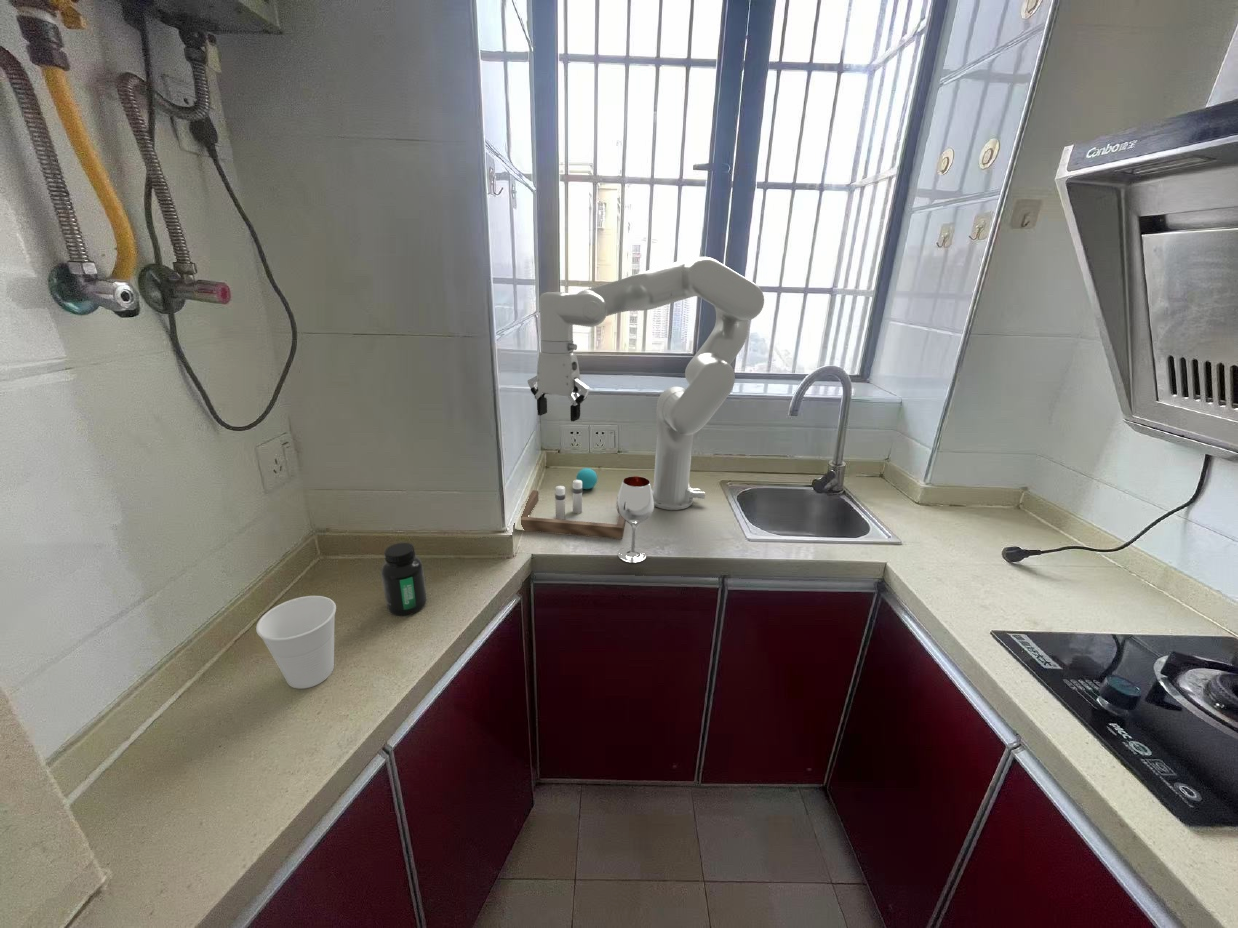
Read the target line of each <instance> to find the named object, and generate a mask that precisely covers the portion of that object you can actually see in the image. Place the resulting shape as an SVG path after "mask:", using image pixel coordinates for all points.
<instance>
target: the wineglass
mask: <svg viewBox="0 0 1238 928" xmlns="http://www.w3.org/2000/svg"><path fill="white" fill-rule="evenodd" d="M652 490H653V488H652V485H651V481H650V479H648V478H647V477H644V476H639V475H630V476H627V477H625V478H623V479H622V482H621V485H620V488H619V491H618V494H617V497H616V501H615V508H616V511H617V513H618V516H619V515H620V516H621V517H622V518H623V519H624V520H625V521H626V522H627V523H628V524H629V525H630V526H631V542H630V543H631V545H630V546H627V547H623V548H621V549H620V550H618V553H620V554H618V553H617V556H618V558H619V559H620V560H622V561H623V562H624V563H629V564H639V563H641V562H644V561H645V560H646V559H647V556H646V555H647V552H646V551H645V550H643V549H642V548H639V547H636V532H637V529H636V528H637V527H638V526H639V525H640V524H642V523H643V522H645V521H647V519H649V518H650V517H651V516H652V514H653V513H654V509H655V506H654V498H653V493H652ZM640 553H641V554H642V553H645V554H643V555H644V556H643V555H641V554H640ZM621 554H622V555H621Z"/></svg>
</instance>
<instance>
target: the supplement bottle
mask: <svg viewBox="0 0 1238 928" xmlns="http://www.w3.org/2000/svg"><path fill="white" fill-rule="evenodd" d="M384 556H385V557H384V560H385V562H384V564H383V565H382V567H381V571H380V572H381V579H382V584H383V591H384V592H383V593H384V597H385V604H386V609H387V611H388V612H389V613H390V614H392V615H393V616H395V617H407V616H411V615H414V614H417V613H418V612H420V611H421V610H422V609H423V608H424V607H425V606H426V604H427V590H426V581H425V574H424V573H425V572H424V566H423V563H422V560H421V559H420V558H419V557H418V556H416V551H415V546H414V545H413V544H412V543H409V542H397V543H394V544H391V545H389V546H388V547H387V548H385V550H384Z"/></svg>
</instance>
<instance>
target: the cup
mask: <svg viewBox="0 0 1238 928" xmlns="http://www.w3.org/2000/svg"><path fill="white" fill-rule="evenodd" d="M336 611H337V605H336V603H335V601H334V600H332V599H331V598H329V597H326V596H322V595H306V596H305V595H304V596H301V597H296V598H291V599H290V600H286V601H284V602H282V603H280V604H278V605H276V606H274V607H273V608H270V610H268V611H266V613H264V614H263V615H262V616H261V617H260V619H259V620H258V621H257V623H256V627H255V628H256V629H255V631H256V634H257V635H258V636H259V637H260V638H261V639H262V641H263V642H264V645H265V646H266V647H267V649H268V651H269V652H270V655H271V656H272V658H273V659H274V662H275V664H276V665H277V666H278V668H279V670H280V672H281V674H282V676H283V677H284V679H285V682H286V683H287V685H288V686H289V687H291V688H293V689H303V690H304V689H309V688H313V687H315V686H318V685H320V684H321V683H323V682H324V681H325V680H326V679H328V678H329V677H330V676H331V675H332V673H333V671H334V668H335V623H336V622H335V615H336Z"/></svg>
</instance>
